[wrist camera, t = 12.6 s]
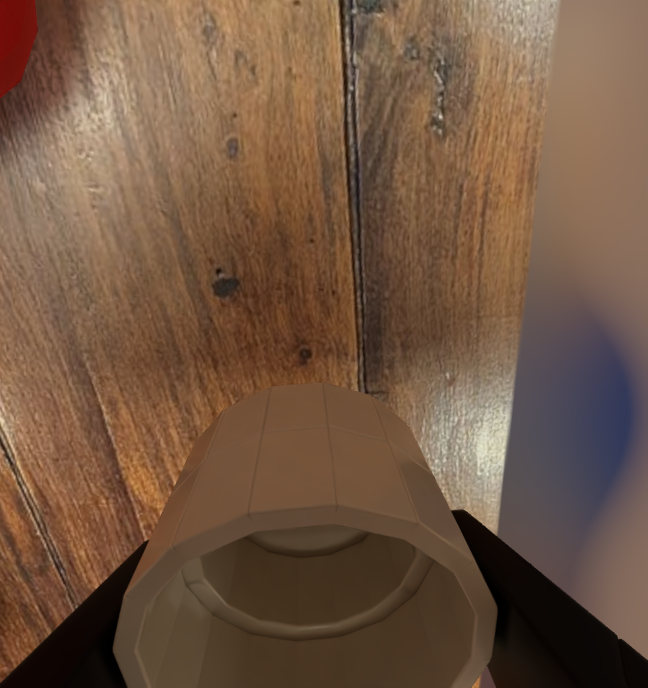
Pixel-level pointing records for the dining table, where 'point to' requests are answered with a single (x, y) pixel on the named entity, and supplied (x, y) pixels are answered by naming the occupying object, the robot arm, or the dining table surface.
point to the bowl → (306, 558)
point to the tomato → (15, 40)
